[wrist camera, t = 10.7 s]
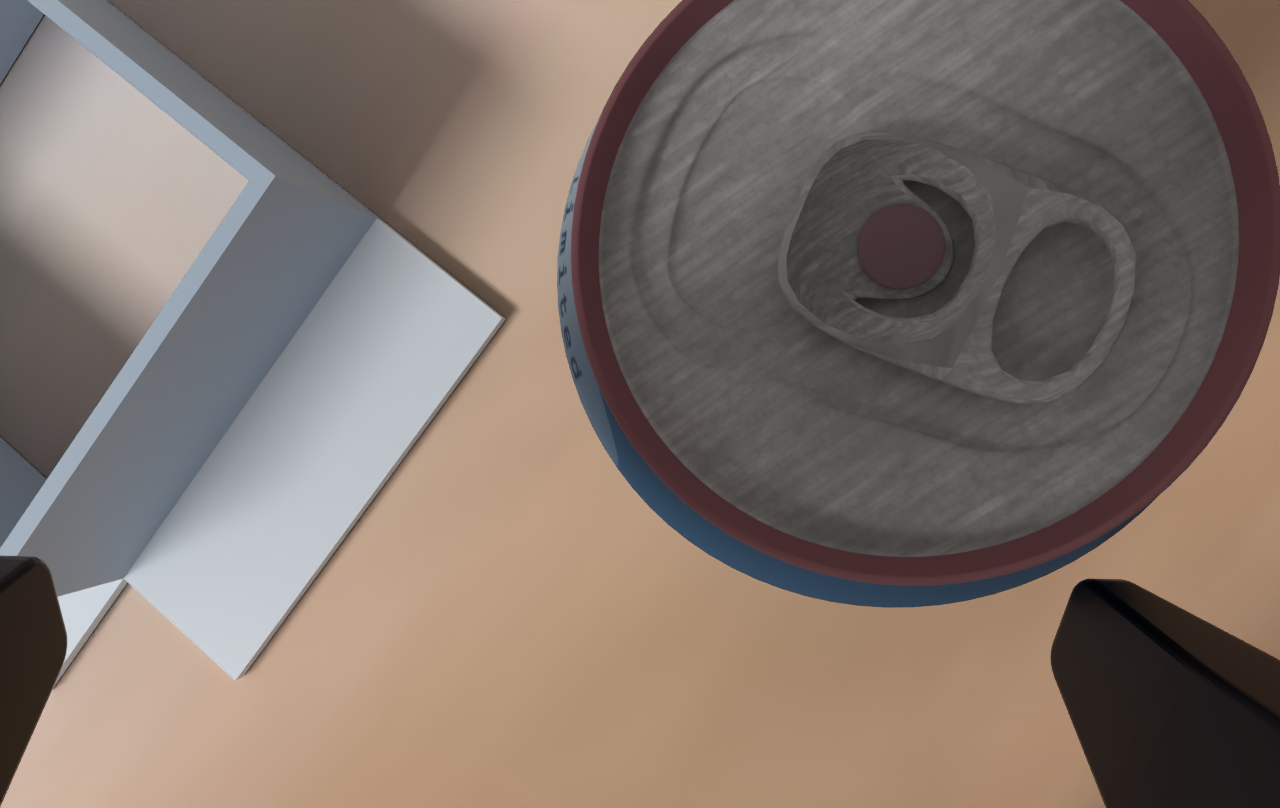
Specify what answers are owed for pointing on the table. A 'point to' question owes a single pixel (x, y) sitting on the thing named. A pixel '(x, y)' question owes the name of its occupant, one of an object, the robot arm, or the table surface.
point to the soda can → (917, 281)
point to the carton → (239, 384)
